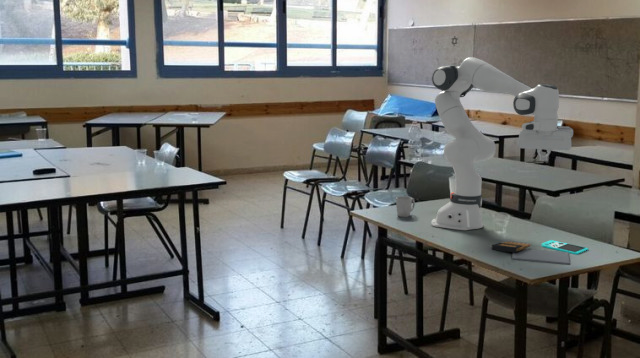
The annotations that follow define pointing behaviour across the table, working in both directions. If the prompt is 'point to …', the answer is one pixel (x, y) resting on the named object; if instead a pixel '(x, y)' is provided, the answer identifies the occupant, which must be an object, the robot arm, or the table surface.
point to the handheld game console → (564, 247)
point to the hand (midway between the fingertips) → (543, 160)
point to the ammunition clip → (510, 246)
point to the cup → (404, 206)
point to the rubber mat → (542, 256)
